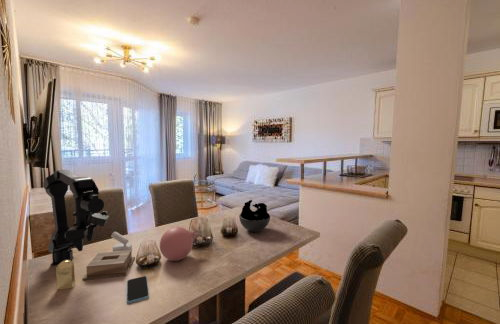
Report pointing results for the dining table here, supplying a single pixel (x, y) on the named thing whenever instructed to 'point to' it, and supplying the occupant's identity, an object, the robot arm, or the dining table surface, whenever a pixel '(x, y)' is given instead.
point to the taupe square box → (109, 265)
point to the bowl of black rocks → (254, 217)
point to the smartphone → (137, 289)
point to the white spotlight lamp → (124, 242)
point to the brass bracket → (65, 275)
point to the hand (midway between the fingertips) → (85, 245)
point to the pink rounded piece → (177, 243)
